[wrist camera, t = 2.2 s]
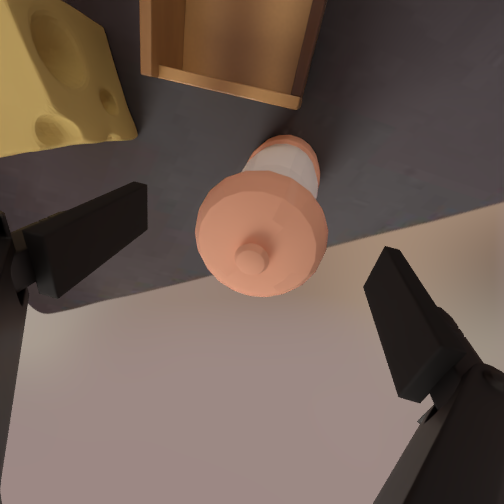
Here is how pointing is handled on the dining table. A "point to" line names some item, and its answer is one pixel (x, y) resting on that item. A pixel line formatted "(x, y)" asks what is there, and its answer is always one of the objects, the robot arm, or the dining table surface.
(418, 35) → the dining table surface
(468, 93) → the dining table surface
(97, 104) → the cheese
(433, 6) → the dining table surface
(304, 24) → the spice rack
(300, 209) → the salt shaker
